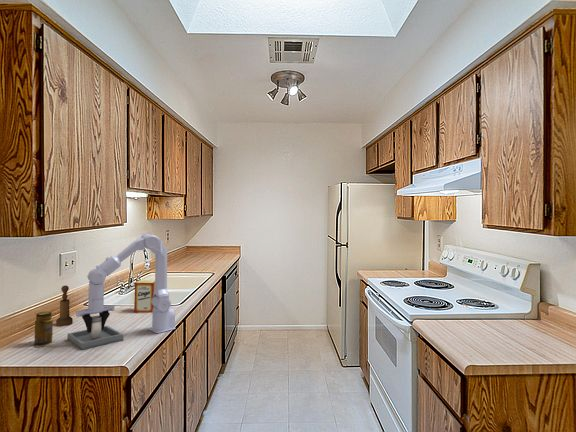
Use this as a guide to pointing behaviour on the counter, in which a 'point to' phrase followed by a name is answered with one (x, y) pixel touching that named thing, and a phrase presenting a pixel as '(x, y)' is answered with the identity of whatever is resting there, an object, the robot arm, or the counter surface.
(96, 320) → the shaker
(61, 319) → the brown pepper mill
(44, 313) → the condiment
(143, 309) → the spice box
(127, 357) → the counter surface
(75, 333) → the tray
